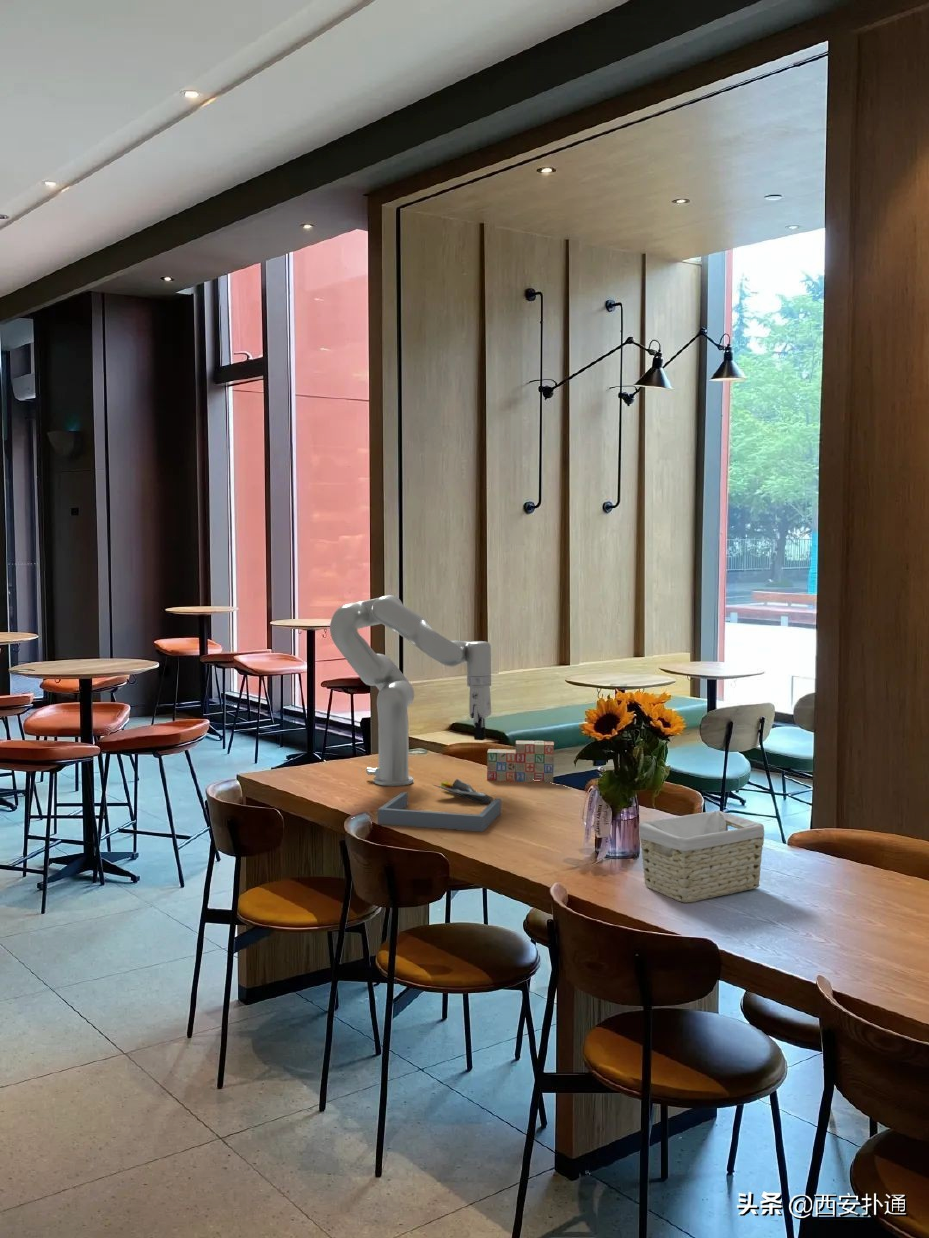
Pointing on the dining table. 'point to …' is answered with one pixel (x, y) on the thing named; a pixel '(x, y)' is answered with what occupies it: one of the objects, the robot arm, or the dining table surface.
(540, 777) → the stack of blocks
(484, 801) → the toy plane
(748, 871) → the storage basket
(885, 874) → the dining table surface
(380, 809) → the u-shaped frame
